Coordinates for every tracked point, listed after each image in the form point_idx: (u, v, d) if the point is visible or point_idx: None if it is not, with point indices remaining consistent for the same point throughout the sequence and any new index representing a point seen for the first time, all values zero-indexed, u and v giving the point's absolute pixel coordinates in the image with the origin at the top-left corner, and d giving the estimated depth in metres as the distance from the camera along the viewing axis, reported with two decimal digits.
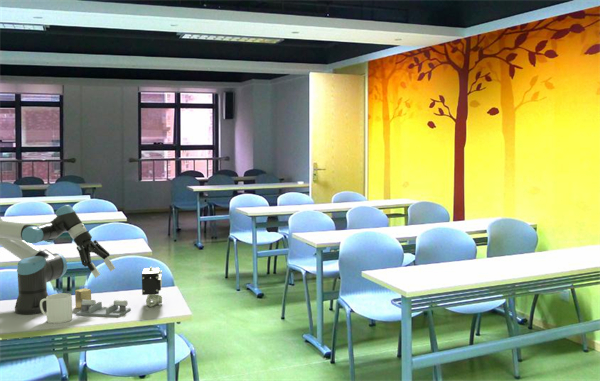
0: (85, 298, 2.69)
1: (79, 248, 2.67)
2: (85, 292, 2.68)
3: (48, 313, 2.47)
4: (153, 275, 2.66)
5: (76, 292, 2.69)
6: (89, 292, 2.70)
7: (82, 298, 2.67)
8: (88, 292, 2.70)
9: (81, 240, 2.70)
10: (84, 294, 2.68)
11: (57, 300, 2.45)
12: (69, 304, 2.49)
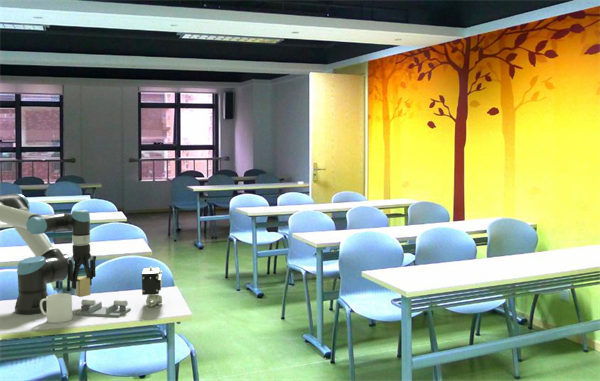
0: (84, 286, 2.68)
1: (68, 262, 2.65)
2: (84, 280, 2.68)
3: (48, 313, 2.47)
4: (153, 275, 2.66)
5: None
6: (88, 280, 2.70)
7: (80, 285, 2.67)
8: (87, 280, 2.69)
9: (75, 252, 2.66)
10: (83, 282, 2.68)
11: (57, 300, 2.45)
12: (69, 304, 2.49)
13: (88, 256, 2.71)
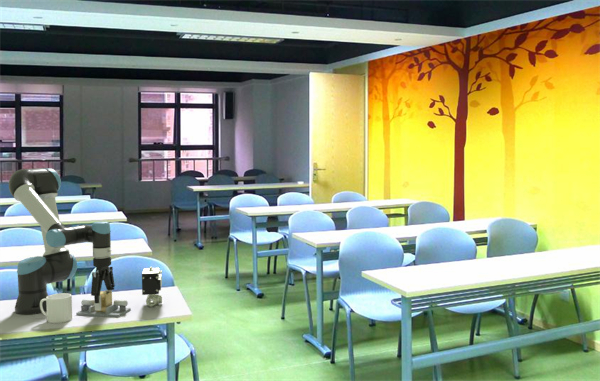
0: (108, 300, 2.60)
1: (94, 275, 2.53)
2: (108, 294, 2.60)
3: (48, 313, 2.47)
4: (153, 275, 2.66)
5: None
6: (111, 294, 2.62)
7: (106, 300, 2.58)
8: (110, 294, 2.61)
9: (100, 265, 2.56)
10: (108, 296, 2.60)
11: (57, 300, 2.45)
12: (69, 304, 2.49)
13: (108, 269, 2.62)
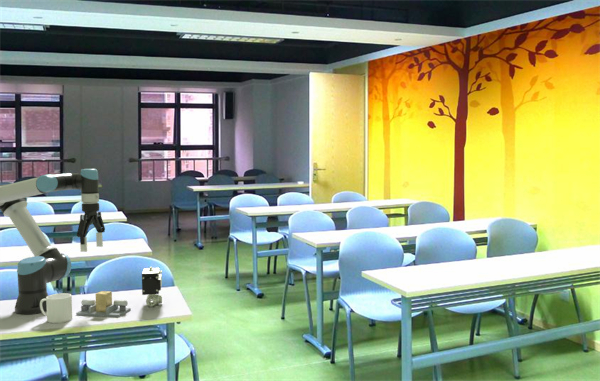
0: (108, 300, 2.60)
1: (82, 217, 2.62)
2: (108, 294, 2.60)
3: (48, 313, 2.47)
4: (153, 275, 2.66)
5: (97, 295, 2.58)
6: (111, 294, 2.62)
7: (106, 300, 2.58)
8: (110, 294, 2.61)
9: (88, 210, 2.65)
10: (108, 296, 2.60)
11: (57, 300, 2.45)
12: (69, 304, 2.49)
13: None
